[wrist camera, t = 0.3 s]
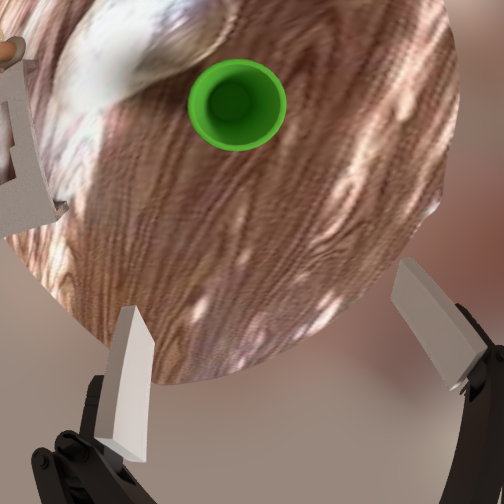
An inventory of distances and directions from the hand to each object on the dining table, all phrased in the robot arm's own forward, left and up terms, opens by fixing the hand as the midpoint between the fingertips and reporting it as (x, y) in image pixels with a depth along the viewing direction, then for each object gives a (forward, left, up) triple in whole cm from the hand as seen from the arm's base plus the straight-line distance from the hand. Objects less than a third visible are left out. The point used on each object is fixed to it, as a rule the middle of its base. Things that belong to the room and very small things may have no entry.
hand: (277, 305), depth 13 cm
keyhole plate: (-10, -32, -28) cm, 44 cm away
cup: (-8, +1, -28) cm, 29 cm away
